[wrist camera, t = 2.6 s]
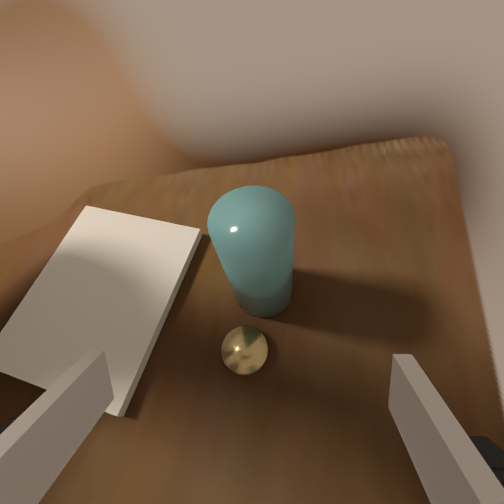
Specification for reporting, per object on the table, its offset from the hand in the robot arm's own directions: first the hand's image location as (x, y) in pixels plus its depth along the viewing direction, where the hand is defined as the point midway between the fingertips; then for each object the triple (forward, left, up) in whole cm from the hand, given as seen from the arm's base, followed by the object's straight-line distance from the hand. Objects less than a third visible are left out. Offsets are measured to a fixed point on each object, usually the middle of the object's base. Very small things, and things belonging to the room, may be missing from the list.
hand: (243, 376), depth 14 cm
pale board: (-20, +5, -15) cm, 26 cm away
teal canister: (-3, +10, -15) cm, 18 cm away
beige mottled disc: (-3, +3, -15) cm, 16 cm away
